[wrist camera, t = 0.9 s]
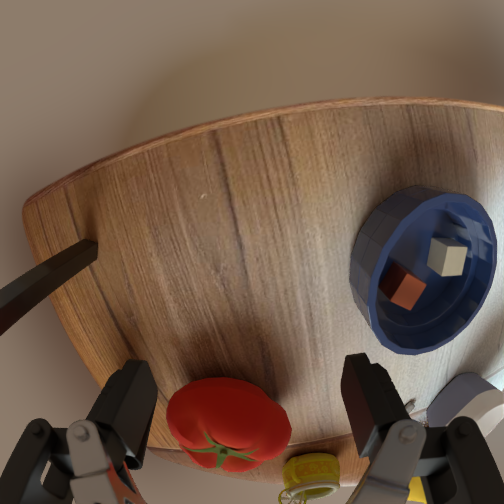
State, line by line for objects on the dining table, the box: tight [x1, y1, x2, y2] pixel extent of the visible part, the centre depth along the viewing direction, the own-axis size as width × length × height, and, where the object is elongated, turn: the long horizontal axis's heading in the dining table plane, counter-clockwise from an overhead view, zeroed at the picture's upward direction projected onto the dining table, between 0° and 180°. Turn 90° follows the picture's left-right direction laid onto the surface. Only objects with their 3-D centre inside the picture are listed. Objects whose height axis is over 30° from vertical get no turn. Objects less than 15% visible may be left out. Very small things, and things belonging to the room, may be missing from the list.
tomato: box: [166, 377, 292, 472], centre depth 28 cm, size 14×16×10 cm
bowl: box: [426, 373, 504, 438], centre depth 29 cm, size 15×15×11 cm
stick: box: [0, 239, 98, 336], centre depth 19 cm, size 2×2×16 cm
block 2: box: [427, 238, 468, 276], centre depth 23 cm, size 3×3×3 cm
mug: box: [278, 453, 340, 504], centre depth 33 cm, size 13×11×12 cm
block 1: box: [379, 262, 427, 310], centre depth 25 cm, size 3×3×3 cm
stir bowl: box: [349, 185, 497, 355], centre depth 23 cm, size 17×17×6 cm
